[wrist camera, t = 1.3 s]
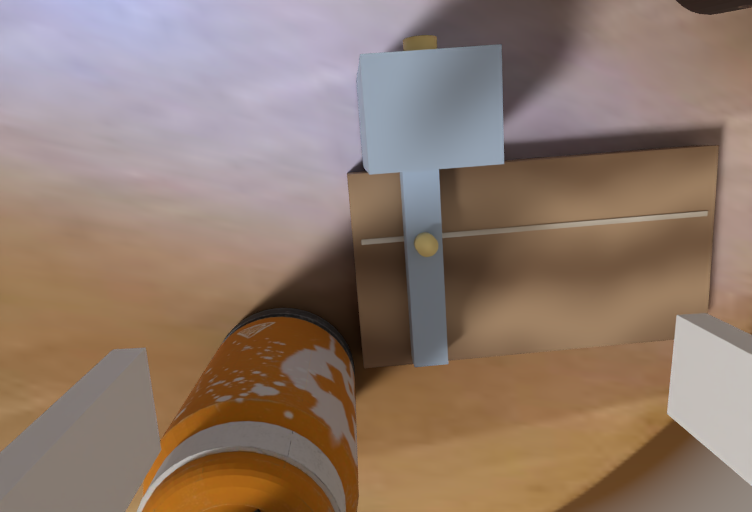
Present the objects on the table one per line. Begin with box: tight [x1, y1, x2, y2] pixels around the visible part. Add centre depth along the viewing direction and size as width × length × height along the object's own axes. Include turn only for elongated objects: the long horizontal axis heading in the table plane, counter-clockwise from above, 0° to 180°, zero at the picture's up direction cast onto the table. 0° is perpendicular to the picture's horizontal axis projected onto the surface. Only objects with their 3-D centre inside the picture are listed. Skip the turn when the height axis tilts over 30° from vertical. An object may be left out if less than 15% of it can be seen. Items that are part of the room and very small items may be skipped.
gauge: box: [356, 35, 504, 367], centre depth 28 cm, size 18×6×9 cm, turn 4°
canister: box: [137, 308, 359, 512], centre depth 24 cm, size 9×11×20 cm
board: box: [347, 145, 719, 368], centre depth 32 cm, size 12×22×2 cm, turn 94°
